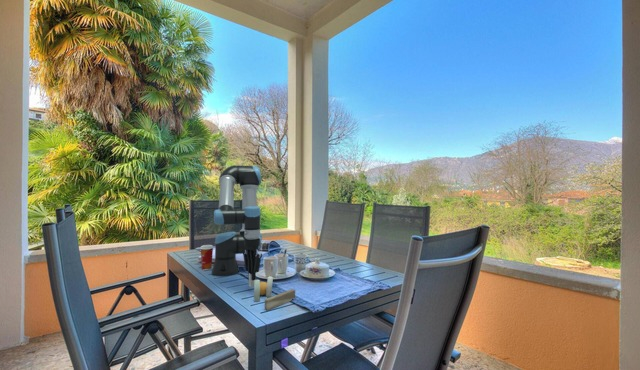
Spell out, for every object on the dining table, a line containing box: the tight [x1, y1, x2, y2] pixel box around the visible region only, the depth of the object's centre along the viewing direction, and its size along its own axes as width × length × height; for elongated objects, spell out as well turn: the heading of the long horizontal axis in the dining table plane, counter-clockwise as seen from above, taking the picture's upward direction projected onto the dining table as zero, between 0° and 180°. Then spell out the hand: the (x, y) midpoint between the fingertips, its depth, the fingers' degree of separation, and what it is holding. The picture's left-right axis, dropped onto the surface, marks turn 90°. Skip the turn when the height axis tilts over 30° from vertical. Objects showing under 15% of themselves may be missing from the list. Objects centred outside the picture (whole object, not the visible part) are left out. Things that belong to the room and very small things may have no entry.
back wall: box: [264, 288, 296, 311], centre depth 122 cm, size 2×16×4 cm, turn 141°
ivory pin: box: [265, 275, 274, 298], centre depth 130 cm, size 2×2×9 cm
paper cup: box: [199, 244, 214, 270], centre depth 175 cm, size 8×8×14 cm
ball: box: [260, 281, 267, 296], centre depth 133 cm, size 6×6×6 cm
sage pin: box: [253, 279, 261, 303], centre depth 126 cm, size 2×2×9 cm
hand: (251, 286), depth 138 cm, fingers closed
